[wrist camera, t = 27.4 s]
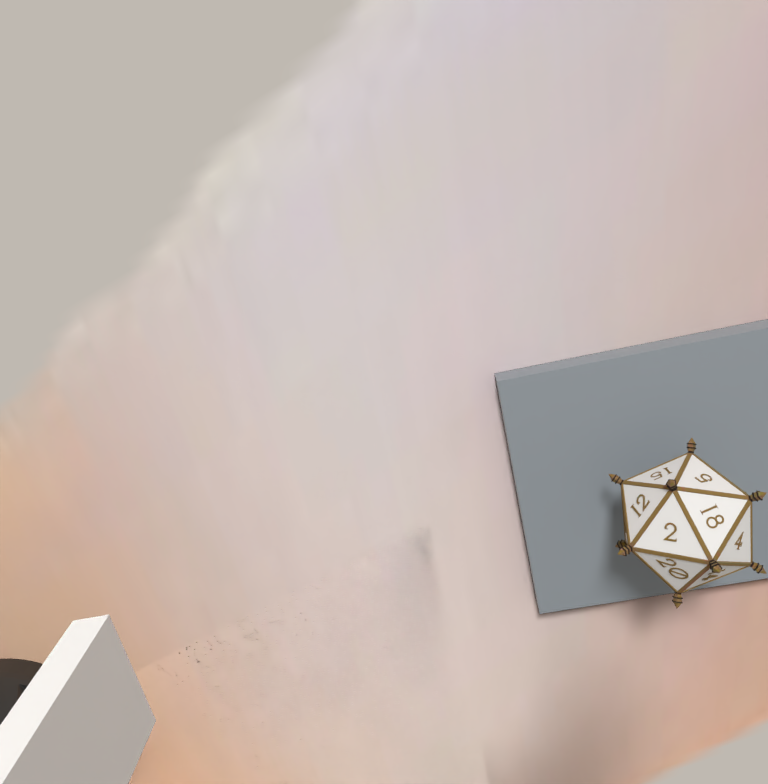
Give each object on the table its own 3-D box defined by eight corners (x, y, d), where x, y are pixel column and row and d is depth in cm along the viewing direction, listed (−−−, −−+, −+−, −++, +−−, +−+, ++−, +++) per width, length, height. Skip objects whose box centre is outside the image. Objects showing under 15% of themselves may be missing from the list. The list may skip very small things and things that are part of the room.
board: (536, 600, 51) (539, 613, 49) (494, 373, 45) (497, 381, 43) (792, 559, 49) (804, 572, 47) (785, 315, 43) (797, 321, 41)
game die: (743, 508, 46) (827, 606, 36) (621, 558, 47) (671, 663, 38) (695, 396, 43) (773, 470, 34) (568, 453, 45) (609, 539, 35)
